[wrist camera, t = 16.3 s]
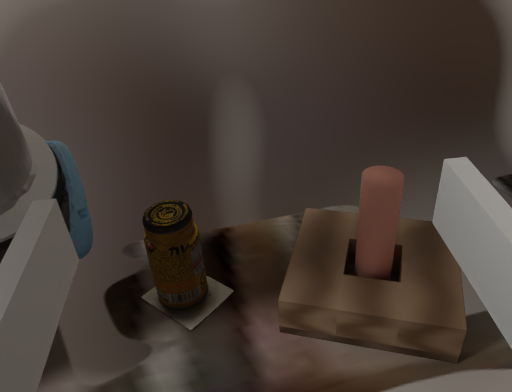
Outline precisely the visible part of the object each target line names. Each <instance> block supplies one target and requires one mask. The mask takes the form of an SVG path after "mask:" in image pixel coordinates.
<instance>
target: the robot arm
mask: <svg viewBox="0 0 512 392" xmlns="http://www.w3.org/2000/svg"><path fill="white" fill-rule="evenodd" d="M432 223H433V225H434V226H435V228H436V229H437V231H438V233H439V234H440V236H441V237H442V239H443V241H444V242H445V244H446V245H447V247H448V248H449V250H450V252H451V253H452V255H453V256H454V258H455V260H456V261H457V263H458V264H459V266H460V268H461V269H462V271H463V272H464V274H465V276H466V277H467V278H468V280H469V282H470V284H471V285H472V287H473V288H474V290H475V291H476V293H477V295H478V296H479V298H480V299H481V301H482V303H483V304H484V306H485V307H486V309H487V311H488V312H489V314H490V315H491V317H492V319H493V320H494V322H495V323H496V325H497V327H498V328H499V330H500V331H501V333H502V335H503V336H504V338H505V339H506V341H507V343H508V344H509V346H510V347H511V349H512V208H511V207H510V206H509V205H508V204H507V202H506V201H505V200H504V199H503V198H502V197H501V196H500V195H499V193H498V192H497V191H496V190H495V189H494V188H493V187H492V186H491V185H490V183H489V182H488V181H487V180H486V179H485V178H484V176H483V175H482V174H481V173H480V172H479V171H478V170H477V169H476V168H475V166H474V165H473V164H472V163H471V162H470V161H469V160H468V158H467V157H461V158H451V159H445V160H444V163H443V168H442V174H441V179H440V184H439V190H438V195H437V201H436V205H435V211H434V217H433V221H432ZM92 243H93V231H92V224H91V218H90V214H89V212H88V210H87V200H86V196H85V192H84V188H83V185H82V181H81V179H80V175H79V172H78V169H77V167H76V164H75V162H74V159H73V157H72V155H71V153H70V151H69V149H68V148H67V146H66V145H65V144H63V143H61V142H59V141H44V139H43V138H41V137H40V136H39V135H38V134H37V133H36V132H34V131H33V130H31V129H29V128H27V127H25V126H23V125H21V124H19V123H18V121H17V119H16V116H15V114H14V112H13V109H12V107H11V105H10V103H9V100H8V98H7V96H6V93H5V91H4V89H3V87H2V84H1V82H0V392H37V389H38V386H39V383H40V380H41V377H42V374H43V370H44V367H45V364H46V361H47V358H48V355H49V352H50V349H51V346H52V343H53V339H54V336H55V333H56V330H57V327H58V324H59V321H60V318H61V315H62V311H63V308H64V305H65V302H66V299H67V296H68V293H69V290H70V287H71V283H72V280H73V277H74V274H75V271H76V268H77V265H78V262H79V260H80V259H82V258H83V257H85V256H86V255H87V254H88V253H89V252H90V250H91V247H92Z"/></svg>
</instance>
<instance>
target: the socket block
mask: <svg viewBox="0 0 512 392" xmlns="http://www.w3.org/2000/svg"><path fill="white" fill-rule="evenodd" d="M358 218H359V214H358V213H348V212H339V211H330V210H321V209H311V208H306V210H305V214H304V217H303V220H302V223H301V227H300V230H299V233H298V236H297V240H296V243H295V246H294V250H293V253H292V256H291V259H290V263H289V266H288V269H287V272H286V276H285V279H284V282H283V285H282V289H281V292H280V295H279V299H278V309H279V327H280V332H283V333H288V334H294V335H300V336H305V337H311V338H317V339H322V340H328V341H334V342H339V343H345V344H351V345H356V346H362V347H368V348H373V349H379V350H385V351H390V352H396V353H402V354H407V355H413V356H418V357H424V358H430V359H435V360H441V361H447V362H452V363H458V359H459V356H460V352H461V349H462V346H463V342H464V339H465V335H466V332H467V326H466V317H465V307H464V297H463V289H462V278H461V269H460V266H459V264H458V263H457V261H456V260H455V258H454V256H453V255H452V253H451V252H450V250H449V248H448V247H447V245H446V244H445V242H444V241H443V239H442V237H441V236H440V234H439V233H438V231H437V229H436V228H435V226H434V225H433V223H432V222H431V221H423V220H412V219H404V218H399V220H398V227H397V234H396V241H395V249H394V256H393V263H392V270H391V277H390V281H387V280H379V279H372V278H365V277H358V276H354V270H355V257H356V244H357V231H358Z"/></svg>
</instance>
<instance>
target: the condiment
mask: <svg viewBox="0 0 512 392" xmlns="http://www.w3.org/2000/svg"><path fill="white" fill-rule="evenodd" d="M143 225H144V231H145V236H144V243H145V247H146V251H147V255H148V259H149V263H150V267H151V271H152V275H153V278H154V282H155V287H154V288H152V289H151V290H150V291H148V292H147V293H146V294H144V295H143V296H142V297H141V298H143V299H144V300H146V301H147V302H148V303H150V304H151V305H153V306H154V307H156V308H157V309H159V310H160V311H162V312H163V313H165V314H167V315H169V316H170V317H171V318H173V319H174V320H176V321H177V322H179V323H180V324H182V325H184V326H186V327H187V328H188V329H190V330H191V329H193V328H194V327H195V326H196V325H198V324H199V323H200V322H201V321H202V320H203V319H204V318H205V317H207V316H208V315H209V314H210V313H211V312H212V311H213V310H214V309H215V308H217V307H218V306H219V305H220V304H221V303H222V302H223V301H224V300H225V299H226V298H227V297H228V296H229V295H230V294H231V293H232V292H233V290H232V289H230V288H228V287H226V286H224V285H223V284H222V283H219V282H217V281H216V280H214V279H212V278H210V277H208V276H206V271H205V265H204V259H203V258H204V257H203V254H202V248H201V241H200V237H199V230H198V228H197V226H196V225H195V224H194V220H193V218H192V211H191V209H190V208H189V206H188V205H187V204H185V203H184V202H181V201H177V200H167V201H162V202H159V203H156V204H154V205H152V206H151V207H150V208H148V209H147V211H146V212H145V213H144V216H143ZM208 293H210V294H208ZM209 295H210V297H209ZM180 311H181V312H180Z"/></svg>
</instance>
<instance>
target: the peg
mask: <svg viewBox="0 0 512 392" xmlns="http://www.w3.org/2000/svg"><path fill="white" fill-rule="evenodd" d="M403 183H404V175H403V174H402V173H401V172H400V171H399V170H397V169H395V168H392V167H389V166H373V167H369V168H367V169H366V170H364V171H363V173H362V179H361V192H360V205H359V218H358V231H357V244H356V257H355V270H354V276H358V277H365V278H372V279H379V280H387V281H390V277H391V270H392V263H393V256H394V249H395V241H396V234H397V227H398V220H399V213H400V205H401V198H402V191H403Z"/></svg>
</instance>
